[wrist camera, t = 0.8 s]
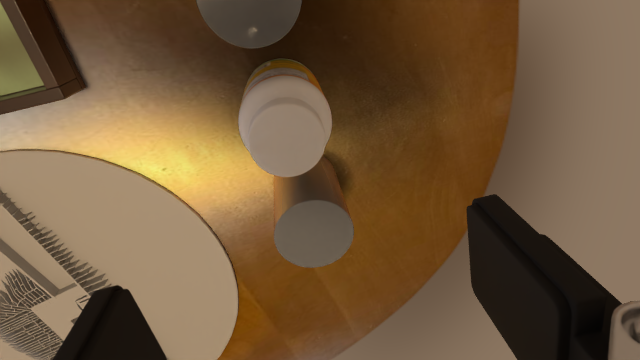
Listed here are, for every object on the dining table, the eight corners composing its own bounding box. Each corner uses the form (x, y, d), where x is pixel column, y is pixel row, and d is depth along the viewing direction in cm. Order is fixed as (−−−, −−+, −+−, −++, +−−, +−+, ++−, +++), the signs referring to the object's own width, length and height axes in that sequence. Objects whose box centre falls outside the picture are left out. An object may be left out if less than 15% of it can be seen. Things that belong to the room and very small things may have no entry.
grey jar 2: (266, 159, 31) (264, 211, 24) (329, 144, 31) (346, 191, 24) (282, 213, 33) (285, 275, 26) (341, 199, 33) (360, 257, 26)
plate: (289, 343, 40) (289, 354, 39) (46, 441, 42) (40, 453, 41) (115, 85, 28) (109, 89, 26) (-214, 242, 30) (-233, 252, 29)
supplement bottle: (316, 133, 31) (333, 192, 22) (244, 128, 30) (232, 187, 21) (323, 60, 28) (346, 94, 20) (246, 53, 28) (234, 84, 19)
